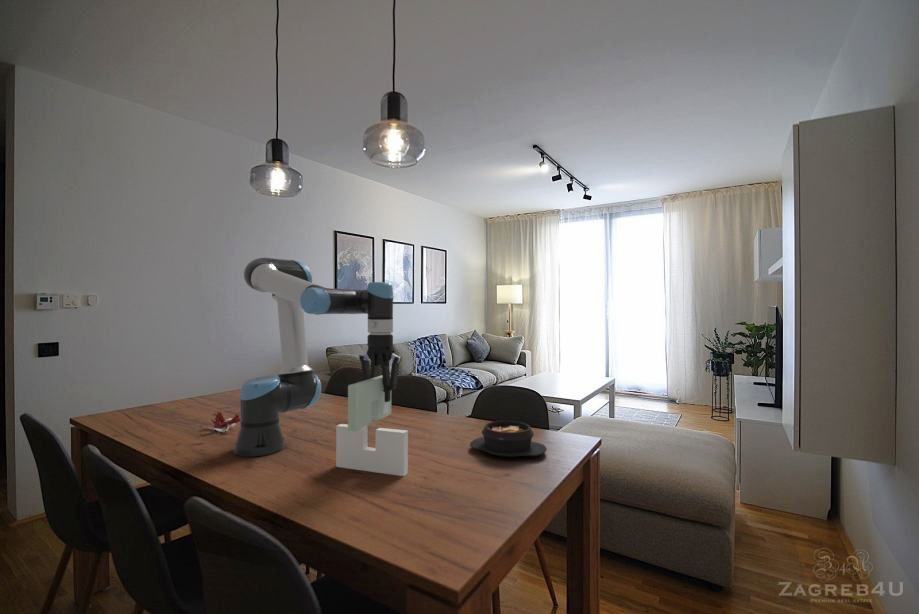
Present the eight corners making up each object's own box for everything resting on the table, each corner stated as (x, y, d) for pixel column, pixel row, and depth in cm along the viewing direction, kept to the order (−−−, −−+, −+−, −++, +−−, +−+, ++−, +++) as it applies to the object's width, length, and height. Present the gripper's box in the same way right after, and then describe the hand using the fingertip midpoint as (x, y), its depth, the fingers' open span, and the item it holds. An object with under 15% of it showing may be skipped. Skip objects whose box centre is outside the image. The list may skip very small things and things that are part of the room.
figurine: (196, 431, 159) (196, 414, 159) (225, 424, 169) (225, 407, 169) (221, 437, 152) (221, 418, 152) (250, 429, 162) (250, 411, 162)
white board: (336, 466, 123) (336, 425, 123) (341, 463, 126) (341, 423, 126) (404, 476, 116) (404, 432, 116) (407, 473, 119) (407, 430, 119)
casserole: (461, 456, 132) (461, 429, 133) (479, 439, 150) (479, 415, 150) (541, 467, 124) (541, 438, 124) (550, 447, 141) (550, 422, 141)
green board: (384, 413, 131) (384, 374, 131) (391, 413, 130) (391, 374, 130) (347, 430, 112) (348, 385, 112) (355, 431, 111) (355, 385, 111)
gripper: (350, 333, 125) (350, 413, 125) (397, 335, 120) (397, 417, 120) (364, 332, 132) (364, 407, 132) (409, 333, 127) (408, 411, 127)
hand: (380, 412), depth 126 cm, fingers closed on green board, 2 cm apart
